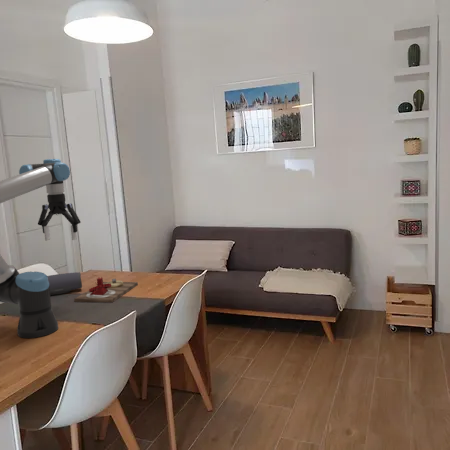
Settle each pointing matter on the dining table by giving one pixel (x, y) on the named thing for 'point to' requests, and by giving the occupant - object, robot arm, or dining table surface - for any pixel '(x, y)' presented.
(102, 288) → the red branched block
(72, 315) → the dining table surface
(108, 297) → the gear board
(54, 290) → the bluetooth speaker
